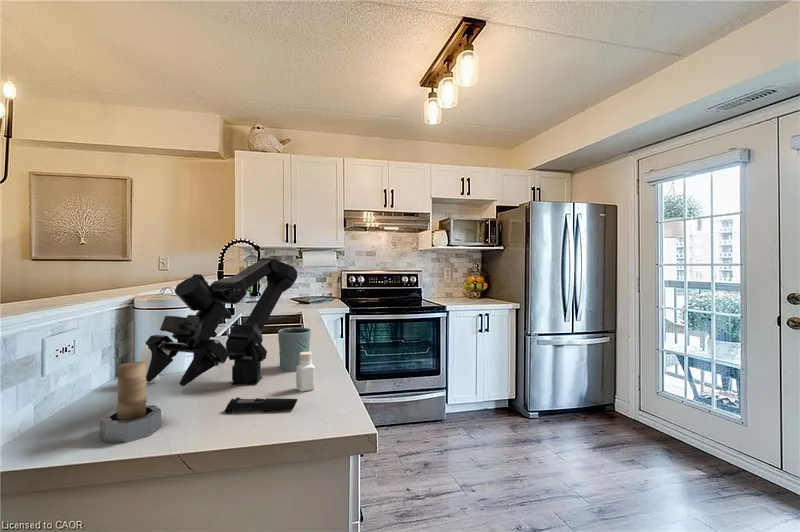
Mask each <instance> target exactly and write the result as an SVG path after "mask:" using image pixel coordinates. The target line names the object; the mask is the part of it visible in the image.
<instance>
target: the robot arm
mask: <svg viewBox="0 0 800 532" xmlns="http://www.w3.org/2000/svg"><path fill="white" fill-rule="evenodd" d="M265 277H266V284H267V285H266V287H265V289H264V290H263V292H262V294H261V296H260V297H259V299H258V300H257V302H256V304H255V306H254V307H253V309H252V310H251V312H250V314H249V316H248V317H247V319H246V321H245V322H244V323H243V324H237V323H236V324H234V326H233V327H232V329H231V331H230V333H229V334H228V335H227V339H226V342H225V346H224V345H223V344H222V342H221V341H220V340H219V339H215V338H216V337H217V335H218V333H217V332H216V330H217V329H218V327H219V326H220V323H222V321H223V319H226V320H231V319H232V313H231V308H229V307H226V306H225V305H226V304H227V305H229V304H230V305H235V304H236V305H237V304H238V303H240V302H241V301H242V299H244V297H246V295H247V292H248V290H249V288H250V287H252V286H254V285H255V284H256V283H258V282H259V281H260V280H262V279H263V278H265ZM297 278H298V270H297V269H296V268H295V267H294V266H293V265H290V264H288V263H285V262H283V261H280V260H278V258H274V257H261V258H259V259H258V260H257V261H255V262H254V263H253V264H251V265H249V266H248V267H246V268H245V269H243V270H242V271H240V272H238V273H237V274H235V275H233V276H229V277H225V278H221V279H220V278H219V279H218V280H215V281H213V282H212V283H210V284H209V283H208V282H207V281H206V279H205V278H204V276H203V274H201V273H197V274H196V273H195V274H193V275H192V276H191V277H188V278H186V279H184V280H183V281H182V282H179V283H178V284H177V285H176V286H175V288H174V293H175V295H176V296H177V297H178V298H179V300H181V301H182V302H183V303H184V304H185V306H186V307H187V308H188V309H189V310H190V311H193V312H196V311H197V312H196V313H195V314H188V315H186V317H184V316H178V315H165V316H164V318H163V320H162V323H161V327H160V329H159V330H160V331H162V332H167V333H170V334H172V335H171V337H173V339H175V340H177V341H174V340H172V339H171V337H169V336H168V335H163V334H153V335H150V336H149V337H148V339H147V340H146V341H145V343H144V344H145V346H146V345H147V346H148V349H150V350H151V353H152V357H151V362H150V365H149V369H148V372H147V374H146V383H147V382H148V383H150V381H152V380H153V379H154V378H155V377H156V376H157V375H158V374H159V375H160V373H161V372H163V370H164V369H166V368H167V367H168V366H169V365H170V364H171V363H172V362H173V361H174V359H173V358H174V357H175V356H177V355H178V353H179V352H180V353H191V354H193V356H192V357H193V358H192V360H191V362H190V364H189V365H188V367H187V368H186V370H185V372H184V373H183V376H181V379H180V381H179V386H181V387H185V386H186V385H188V384H189V383H191V382H192V381H193V380H195V379H197V378H198V377H199V376H200V375H201V376H202V375H203V374H204V373H205V372H208V371H209V370H210V369H212V368H214V367H217V366H219V365H220V364H225V362H226V361H227V359H228V360H229V361H233V362H234V363H233V365H232V367H231V370H232V371H231V381H232V382H231V386H255V385H257V384H259V382H260V381H261V380H262V379H263V376H261V375H262V374H261V371H262V369H261V367H262V365H261V364H262V363H261V362H263V361H264V360H265V359H267V353H268V351H267V349H266V348H265V346H264V345H263V344H262V343H263V333H262V331H263V329H264V327H265V326H266V323H267V321H268V319H269V318H270V316H271V314H272V313H273V311H274V309H275V307H276V305H277V303H278V301H279V300H280V298H281V296H282V294H283V293H284V292H286V291H287V290H289V289H290V288H292V286H293V285H294V283H296V281H297ZM211 338H214V339H211Z"/></svg>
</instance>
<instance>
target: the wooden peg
mask: <svg viewBox="0 0 800 532" xmlns="http://www.w3.org/2000/svg"><path fill="white" fill-rule="evenodd" d="M146 375H147V374H146V362H142V361H131V362H130V361H129V362H125V363H120V364H119V365H118V366H117V407H116V408H117V409H116V410H117V421H126V420H132V419H136V418H140V417H144V416H146V405H147V381H146Z"/></svg>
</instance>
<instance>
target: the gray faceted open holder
mask: <svg viewBox="0 0 800 532" xmlns="http://www.w3.org/2000/svg"><path fill="white" fill-rule="evenodd" d="M99 419H100V420H99V421H100V423H99V428H100V429H99V438H101V440H102V441H103V442H104V443H105V444H113V443H118V444H119V443H129V442H133V441H136V440H140V439H142V438H146V437H150V436H152V435H153V434H154V433H156V432H157V431H158V430H159V429H161V428H162V409H161V408H160V407H159V406H157V405H155V404H146V416H144V417H140V418H136V419H132V420H126V421H117V409H114V410H112V411H110V412H109V413H107V414H105V415H103V416H102V417H100V418H99Z"/></svg>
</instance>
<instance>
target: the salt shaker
mask: <svg viewBox="0 0 800 532" xmlns="http://www.w3.org/2000/svg"><path fill="white" fill-rule="evenodd" d="M312 360H313V353H312V351H309V352H301V353H300V360H299V361H300V365H298V366H297V367H296V371H295V372H296V375H295V377H296V380H295V381H296V382H295V383H296V385H295V387H296V389H297V390H298V391H299V392H301V393H303V392H308V391H314V390H315V387H316V380H315V379H316V376H315V375H316V370H315V369H316V367H315V365H314V364H312V363H313V362H312Z"/></svg>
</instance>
